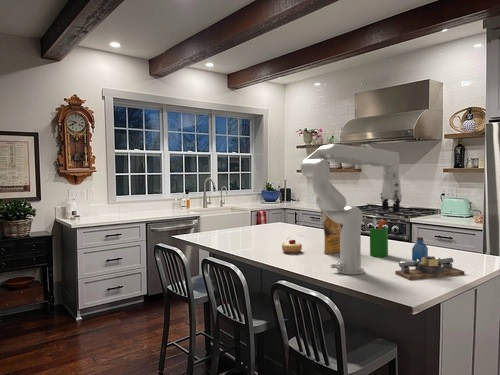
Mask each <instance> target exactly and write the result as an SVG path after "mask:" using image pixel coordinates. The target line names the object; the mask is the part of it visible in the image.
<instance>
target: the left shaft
mask: <svg viewBox="0 0 500 375" xmlns="http://www.w3.org/2000/svg"><path fill="white" fill-rule="evenodd" d="M398 267H399V268H400V270H401V271H402V272H404V273H410V269H411V268H412V267H414V268H415V267H416V268H421V261H420V260H416V261H413V260H411V261H399V262H398Z"/></svg>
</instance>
